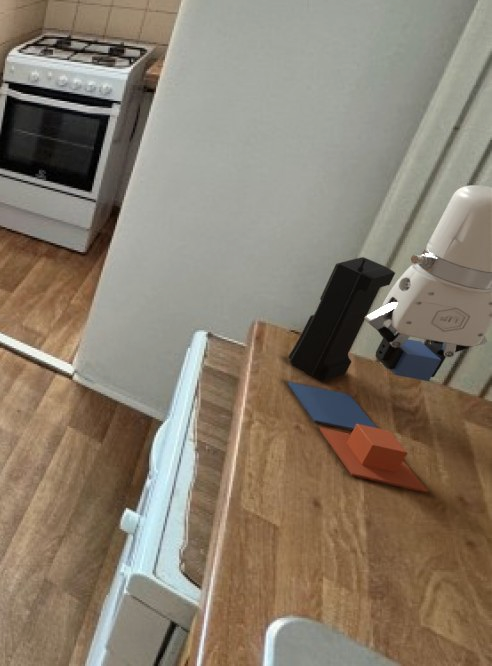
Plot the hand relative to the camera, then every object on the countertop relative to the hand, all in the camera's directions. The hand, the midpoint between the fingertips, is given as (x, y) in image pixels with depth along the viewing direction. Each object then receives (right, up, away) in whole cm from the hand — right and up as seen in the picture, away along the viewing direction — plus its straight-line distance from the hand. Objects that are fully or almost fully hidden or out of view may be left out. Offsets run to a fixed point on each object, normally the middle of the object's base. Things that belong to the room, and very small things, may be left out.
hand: (403, 365), depth 93 cm
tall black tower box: (+4, -8, +19) cm, 20 cm away
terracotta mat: (-6, -15, 0) cm, 16 cm away
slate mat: (-2, -11, +9) cm, 14 cm away
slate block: (0, -1, 0) cm, 1 cm away
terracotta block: (-6, -14, 0) cm, 15 cm away
